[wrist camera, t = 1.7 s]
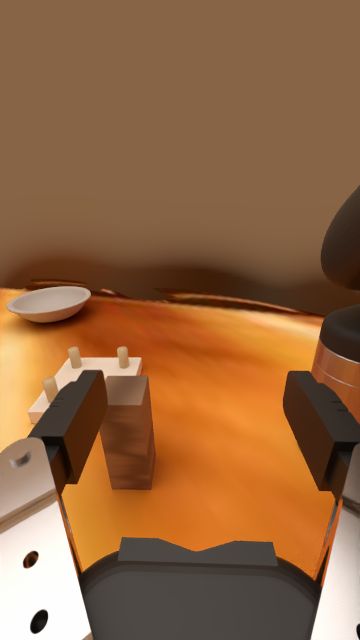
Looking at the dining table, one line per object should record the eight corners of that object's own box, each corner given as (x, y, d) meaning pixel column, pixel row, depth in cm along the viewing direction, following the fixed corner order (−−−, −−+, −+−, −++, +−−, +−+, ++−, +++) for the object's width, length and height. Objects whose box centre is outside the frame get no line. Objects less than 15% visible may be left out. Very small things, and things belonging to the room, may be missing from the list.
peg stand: (142, 367, 57) (139, 341, 54) (126, 424, 42) (121, 393, 40) (71, 367, 58) (65, 342, 55) (31, 423, 43) (20, 392, 40)
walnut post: (155, 454, 37) (148, 375, 31) (150, 489, 33) (141, 405, 27) (121, 454, 38) (107, 375, 32) (112, 489, 33) (93, 404, 27)
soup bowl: (109, 312, 86) (106, 293, 83) (37, 342, 68) (31, 320, 66) (67, 299, 99) (64, 282, 96) (-1, 321, 81) (-8, 302, 79)
